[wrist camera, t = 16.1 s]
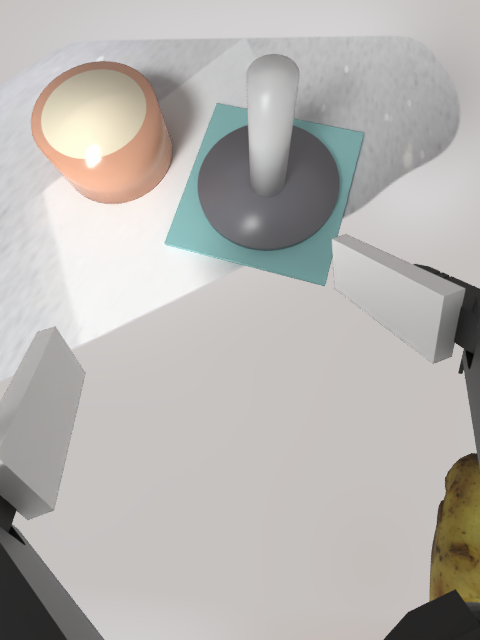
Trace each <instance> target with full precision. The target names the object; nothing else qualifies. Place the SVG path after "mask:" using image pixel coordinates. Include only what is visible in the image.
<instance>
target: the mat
mask: <svg viewBox="0 0 480 640" xmlns="http://www.w3.org/2000/svg"><path fill="white" fill-rule="evenodd" d="M246 125H248V109H243V108H238V107H233V106H228V105H223V104H218V103H217V104H216V107H215V110H214V112H213V115H212V118H211V120H210V123H209V126H208V128H207V131H206V134H205V136H204V139H203V142H202V144H201V147H200V150H199V152H198V155H197V158H196V160H195V163H194V166H193V168H192V171H191V174H190V176H189V179H188V182H187V184H186V187H185V190H184V192H183V195H182V198H181V200H180V203H179V206H178V208H177V211H176V214H175V216H174V219H173V222H172V224H171V227H170V230H169V232H168V235H167V238H166V240H165V244H166V245H169V246H172V247H176V248H180V249H184V250H188V251H192V252H195V253H199V254H203V255H207V256H211V257H215V258H218V259H222V260H226V261H230V262H234V263H238V264H241V265H245V266H249V267H254V268H257V269H261V270H265V271H268V272H272V273H276V274H280V275H284V276H288V277H291V278H296V279H299V280H303V281H307V282H311V283H314V284H319V285H322V286H325V284H326V280H327V276H328V272H329V268H330V264H331V260H332V256H333V253H332V239H333V238H336V237H338V233H339V229H340V225H341V221H342V217H343V213H344V209H345V206H346V202H347V198H348V194H349V190H350V186H351V182H352V178H353V174H354V170H355V167H356V163H357V159H358V155H359V151H360V147H361V143H362V139H363V135H364V133H362V132H357V131H352V130H347V129H342V128H337V127H333V126H328V125H323V124H318V123H313V122H308V121H303V120H298V119H293V125H294V126H296V127H299V128H301V129H304V130H306V131H307V132H309V133H311V134H312V135H314V136H315V137H316V138H318V139H319V140H320V141H321V142H322V143H323V144H324V145H325V146H326V147H327V149H328V150H329V151H330V153H331V155H332V156H333V158H334V160H335V163H336V165H337V169H338V172H339V181H340V183H339V193H338V198H337V201H336V204H335V207H334V209H333V211H332V213H331V215H330V217H329V219H328V220H327V221H326V223H325V224H324V226H323V227H322V228H321V229H320V230H319V231H318V232H317V233H315V234H314V235H313V236H312V237H310V238H309V239H307V240H305V241H304V242H302V243H300V244H297V245H295V246H292V247H289V248H286V249H281V250H274V251H261V250H253V249H248V248H245V247H242V246H239V245H236V244H234V243H232V242H230V241H229V240H227V239H226V238H224V237H223V236H221V235H220V234H219V233H218V232H217V231H216V230H215V229H214V228H213V227H212V226H211V225H210V223H209V221H208V220H207V218H206V217H205V214H204V212H203V210H202V207H201V204H200V200H199V196H198V175H199V171H200V168H201V165H202V163H203V160H204V158H205V157H206V155H207V154H208V152H209V151H210V149H211V148H212V147H213V146H214V145H215V144H216V143H217V142H218V141H219V140H220V139H221V138H223V137H224V136H225V135H227V134H229V133H230V132H232V131H234V130H236V129H238V128H241V127H243V126H246Z"/></svg>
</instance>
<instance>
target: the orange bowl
mask: <svg viewBox="0 0 480 640" xmlns="http://www.w3.org/2000/svg"><path fill="white" fill-rule="evenodd" d="M31 130H32V135H33V138H34V140H35V142H36V144H37V146H38V147H39V149H40V150H41V151H42V152H43V154H44V155H45V156H46V157H47V158H48V159H49V160H50V161H51V162H52V163H53V165H54V166H55V167H56V168H57V169H58V170H59V171H60V172H61V173H62V175H63V176H64V177H65V178H66V179H67V180H68V181H69V182H70V183H71V185H72V186H73V187H74V188H75V189H76V190H77V191H78V192H79V193H80V194H82V195H83V196H85V197H86V198H88V199H91V200H93V201H96V202H100V203H106V204H118V203H124V202H129V201H132V200H135V199H137V198H139V197H141V196H143V195H145V194H147V193H148V192H149V191H151V190H152V189H153V188H154V187H155V186H157V185H158V184H159V182H160V181H161V180H162V179H163V177H164V176H165V174H166V173H167V170H168V168H169V166H170V163H171V159H172V143H171V139H170V136H169V133H168V130H167V127H166V124H165V122H164V119H163V116H162V113H161V110H160V107H159V104H158V101H157V98H156V95H155V93H154V90H153V88H152V86H151V84H150V83H149V81H148V80H147V79H146V78H145V77H144V76H143V75H142V74H141V73H140V72H138V71H137V70H135V69H133V68H132V67H129V66H127V65H124V64H120V63H116V62H106V61H100V62H91V63H86V64H83V65H79V66H77V67H74V68H72V69H70V70H68V71H66V72H64V73H62V74H61V75H59V76H58V77H56V78H55V79H54V80H53V81H52V82H51V83H50V84H49V85H48V86H47V87H46V88H45V89H44V90H43V92H42V93H41V94H40V96H39V98H38V99H37V101H36V103H35V106H34V109H33V112H32V117H31Z"/></svg>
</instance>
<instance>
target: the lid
mask: <svg viewBox="0 0 480 640" xmlns="http://www.w3.org/2000/svg"><path fill="white" fill-rule="evenodd" d="M246 78H247V106H248V125H246V126H243V127H241V128H238V129H236V130H234V131H232V132H230V133H229V134H227V135H225V136H224V137H223V138H221V139H220V140H219V141H218V142H217V143H216V144H215V145H214V146H213V147H212V148H211V149H210V151H209V152H208V154H207V155H206V157H205V158H204V160H203V163H202V165H201V168H200V171H199V175H198V196H199V200H200V204H201V207H202V210H203V212H204V214H205V217H206V218H207V220H208V221H209V223H210V225H211V226H212V227H213V228H214V229H215V230H216V231H217V232H218V233H219V234H220V235H221V236H223V237H224V238H226V239H227V240H229V241H230V242H232V243H234V244H236V245H239V246H242V247H245V248H248V249H253V250H261V251H274V250H281V249H286V248H289V247H292V246H295V245H297V244H300V243H302V242H304V241H305V240H307V239H309V238H310V237H312V236H313V235H314V234H315V233H317V232H318V231H319V230H320V229H321V228H322V227H323V226H324V224H325V223H326V221H327V220H328V219H329V217H330V215H331V213H332V211H333V209H334V207H335V204H336V201H337V198H338V193H339V183H340V181H339V172H338V169H337V165H336V163H335V160H334V158H333V156H332V155H331V153H330V151H329V150H328V149H327V147H326V146H325V145H324V144H323V143H322V142H321V141H320V140H319V139H318V138H316V137H315V136H314V135H312V134H311V133H309V132H307V131H306V130H304V129H301V128H299V127H296V126H294V125H293V119H294V112H295V104H296V97H297V89H298V82H299V69H298V67H297V65H296V64H295V63H294V62H293V61H292V60H291V59H290V58H288V57H286V56H283V55H278V54H270V55H265V56H262V57H260V58H258V59H256V60H255V61H254V62H253V63H252V64H251V65H250V66H249V68H248V70H247V75H246Z"/></svg>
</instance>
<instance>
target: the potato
mask: <svg viewBox="0 0 480 640" xmlns="http://www.w3.org/2000/svg"><path fill="white" fill-rule="evenodd" d="M445 488H446V495H445V498H444V500H443V501H441V503H440V505H439V509H438V516H437V525H436V531H435V535H434V540H433V546H432V555H431V571H430V573H431V574H430V601H432V600H434V599H436V598H438V597H440V596H442V595H444V594H446V593H448V592H450V591H453V590H455V589H456V590H457V592H458V593H459V595H460V596H461V597H462V599H463V600H464V602H478V603H480V468H479V461H478V455H477V454H475V453H471V454H469V455H467V456H464V457H462V458H460V459H459V460H458V461H457V462H456V463H455V464H454V465H453V467H452V468H451V469H450V470H449V471H448V474H447V476H446V477H445Z"/></svg>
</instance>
